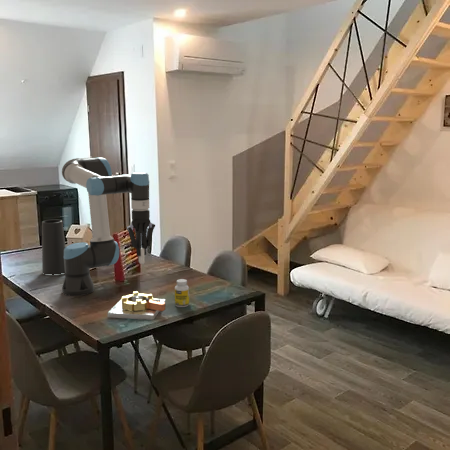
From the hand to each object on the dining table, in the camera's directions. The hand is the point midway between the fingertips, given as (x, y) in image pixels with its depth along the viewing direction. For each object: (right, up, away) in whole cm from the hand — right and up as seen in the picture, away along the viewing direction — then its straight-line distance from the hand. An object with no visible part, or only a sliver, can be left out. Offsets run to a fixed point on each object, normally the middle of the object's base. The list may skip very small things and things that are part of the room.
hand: (141, 262), depth 222 cm
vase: (-58, -10, +62) cm, 85 cm away
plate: (-3, -21, +4) cm, 22 cm away
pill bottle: (+17, -20, +11) cm, 28 cm away
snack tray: (+1, -19, +2) cm, 19 cm away
